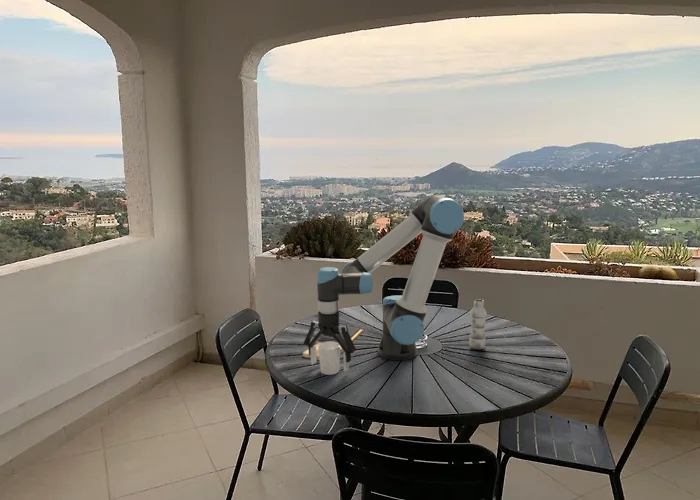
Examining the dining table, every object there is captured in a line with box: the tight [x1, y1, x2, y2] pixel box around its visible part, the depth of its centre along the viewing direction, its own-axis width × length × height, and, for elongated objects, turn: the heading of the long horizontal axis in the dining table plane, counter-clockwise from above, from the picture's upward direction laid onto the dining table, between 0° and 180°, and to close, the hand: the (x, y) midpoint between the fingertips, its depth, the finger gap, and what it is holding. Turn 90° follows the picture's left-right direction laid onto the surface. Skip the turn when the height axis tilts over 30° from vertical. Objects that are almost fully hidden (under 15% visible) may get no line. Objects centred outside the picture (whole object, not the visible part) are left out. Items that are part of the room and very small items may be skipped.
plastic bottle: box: [468, 298, 488, 351], centre depth 212 cm, size 6×7×20 cm
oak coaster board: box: [302, 342, 344, 361], centre depth 210 cm, size 12×12×2 cm
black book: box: [317, 326, 366, 343], centre depth 230 cm, size 20×2×15 cm
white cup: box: [318, 341, 341, 376], centre depth 194 cm, size 8×8×10 cm
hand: (329, 366), depth 195 cm, fingers open, 13 cm apart
